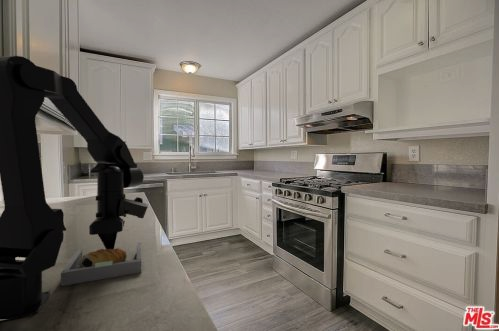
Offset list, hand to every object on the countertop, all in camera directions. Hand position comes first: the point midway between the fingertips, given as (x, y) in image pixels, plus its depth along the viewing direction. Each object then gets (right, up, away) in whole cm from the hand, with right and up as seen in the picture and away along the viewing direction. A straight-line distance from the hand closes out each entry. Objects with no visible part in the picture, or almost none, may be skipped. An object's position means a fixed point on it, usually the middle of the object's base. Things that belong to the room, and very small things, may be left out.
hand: (110, 252), depth 59 cm
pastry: (+1, -2, -5) cm, 5 cm away
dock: (+2, -1, -5) cm, 6 cm away
